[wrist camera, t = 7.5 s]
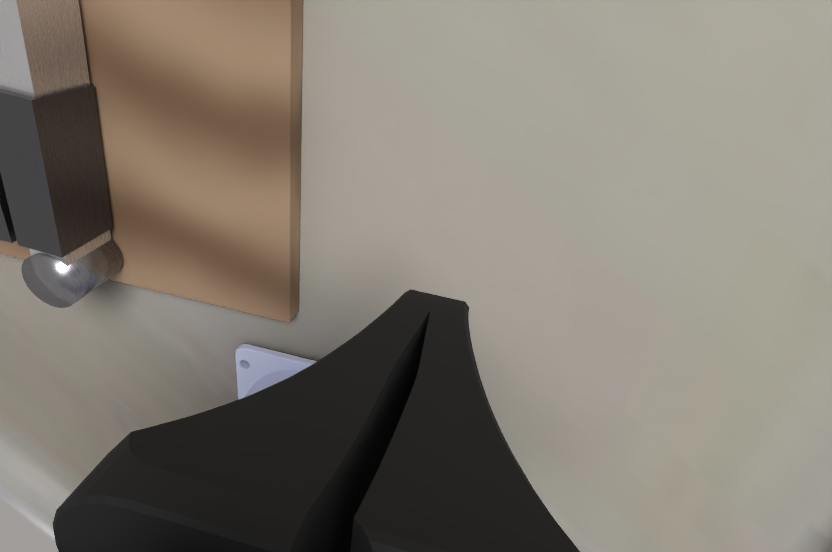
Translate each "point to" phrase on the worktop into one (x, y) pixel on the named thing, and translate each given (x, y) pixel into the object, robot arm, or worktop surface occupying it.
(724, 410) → the worktop surface
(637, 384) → the worktop surface
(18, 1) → the bar
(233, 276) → the board
